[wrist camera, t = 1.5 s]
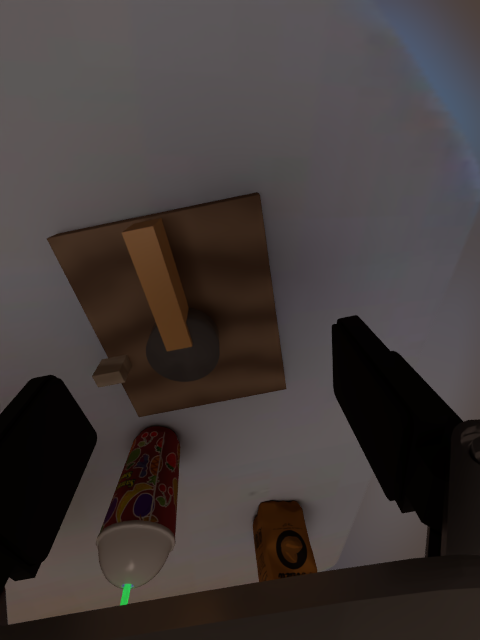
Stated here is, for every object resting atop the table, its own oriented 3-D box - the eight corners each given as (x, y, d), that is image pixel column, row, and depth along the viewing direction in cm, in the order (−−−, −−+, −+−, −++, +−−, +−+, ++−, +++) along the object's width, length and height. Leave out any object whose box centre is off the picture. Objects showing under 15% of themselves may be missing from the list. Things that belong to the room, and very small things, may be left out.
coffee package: (308, 497, 54) (359, 681, 35) (294, 531, 60) (331, 704, 41) (256, 497, 53) (280, 689, 34) (248, 532, 59) (263, 711, 39)
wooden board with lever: (283, 378, 39) (291, 406, 35) (136, 406, 40) (127, 437, 35) (256, 192, 27) (264, 197, 23) (49, 235, 28) (18, 248, 23)
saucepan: (225, 357, 32) (226, 378, 28) (163, 368, 32) (158, 391, 29) (187, 212, 24) (183, 219, 21) (107, 229, 24) (91, 238, 21)
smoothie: (134, 414, 40) (71, 607, 23) (191, 424, 42) (174, 609, 25) (126, 452, 44) (67, 642, 26) (179, 459, 46) (157, 641, 28)
